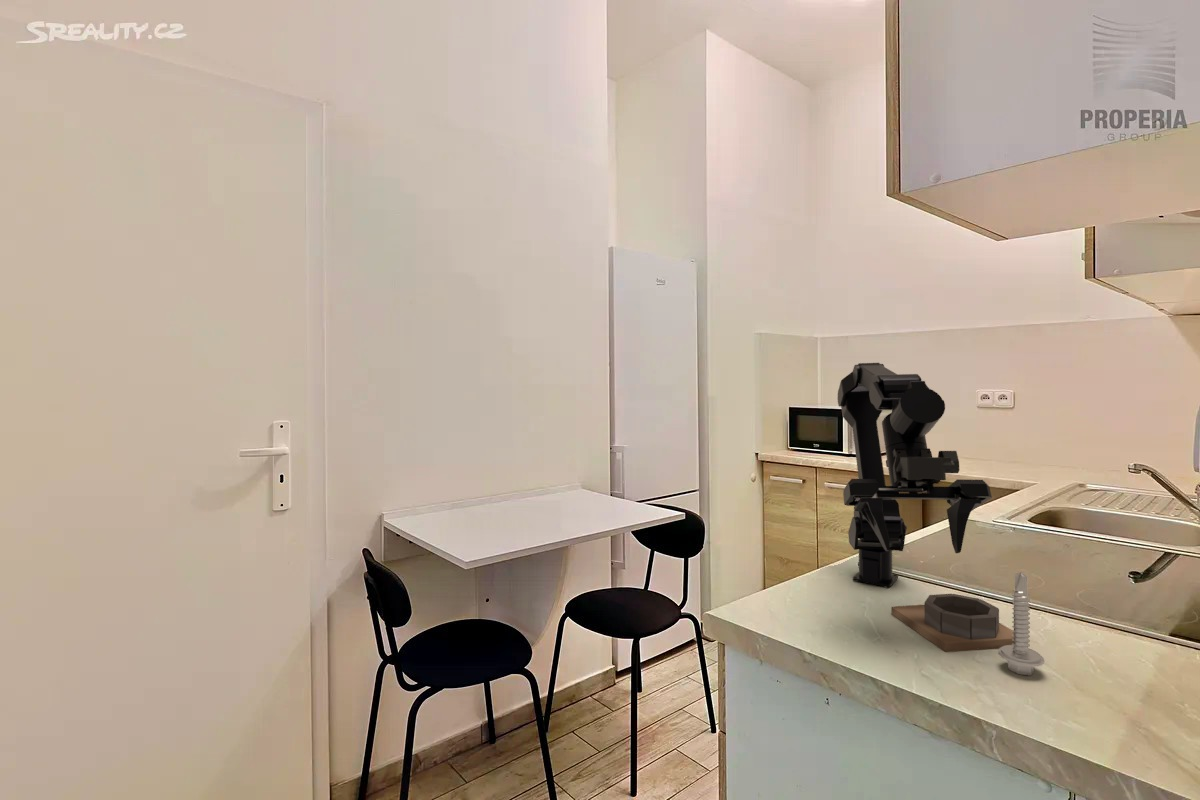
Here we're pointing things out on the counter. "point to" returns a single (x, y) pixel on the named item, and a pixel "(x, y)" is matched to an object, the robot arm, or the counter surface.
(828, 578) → the counter surface
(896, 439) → the robot arm
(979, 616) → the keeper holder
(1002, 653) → the screw
